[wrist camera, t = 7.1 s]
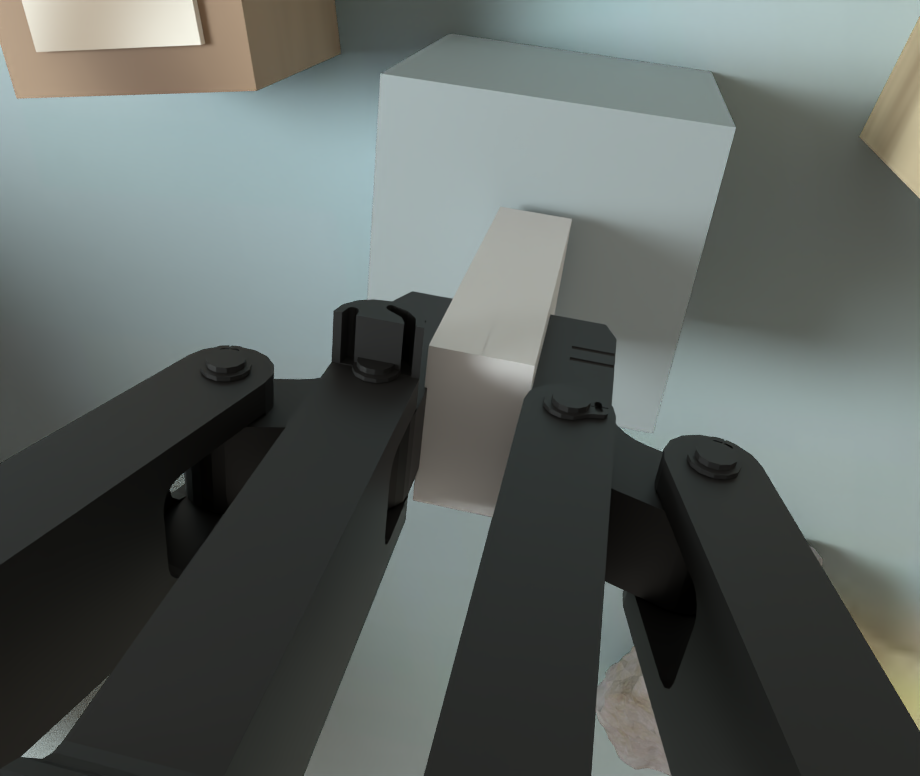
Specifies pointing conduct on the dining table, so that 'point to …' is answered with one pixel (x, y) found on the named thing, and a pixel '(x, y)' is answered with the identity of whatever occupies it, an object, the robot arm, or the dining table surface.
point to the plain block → (554, 184)
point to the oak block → (899, 117)
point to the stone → (633, 713)
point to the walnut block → (161, 44)
